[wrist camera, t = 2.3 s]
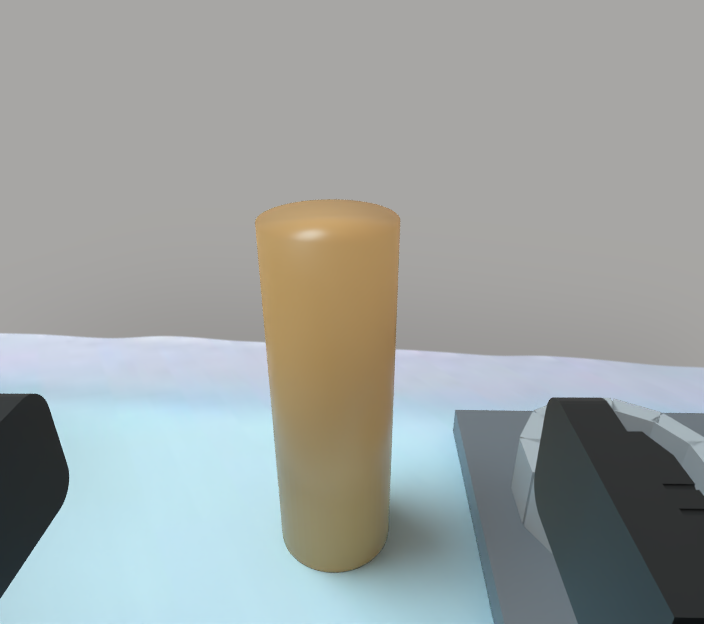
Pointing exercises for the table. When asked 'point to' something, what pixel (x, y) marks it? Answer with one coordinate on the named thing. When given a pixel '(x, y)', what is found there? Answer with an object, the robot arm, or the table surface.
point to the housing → (520, 506)
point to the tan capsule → (331, 373)
